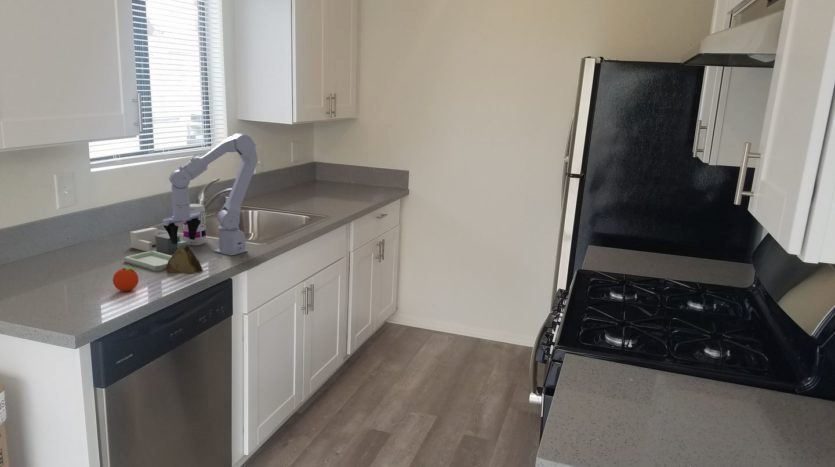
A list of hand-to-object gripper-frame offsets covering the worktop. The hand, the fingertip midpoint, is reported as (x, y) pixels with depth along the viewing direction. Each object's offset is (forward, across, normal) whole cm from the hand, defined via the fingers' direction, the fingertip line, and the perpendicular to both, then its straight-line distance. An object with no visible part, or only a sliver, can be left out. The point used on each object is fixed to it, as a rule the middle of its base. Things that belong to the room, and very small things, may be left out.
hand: (183, 241), depth 217 cm
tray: (+5, +12, 0) cm, 13 cm away
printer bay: (+5, 0, -18) cm, 19 cm away
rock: (+6, +12, +15) cm, 20 cm away
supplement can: (+6, -14, -11) cm, 19 cm away
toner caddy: (+5, 0, -6) cm, 8 cm away
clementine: (+5, +34, +18) cm, 39 cm away
